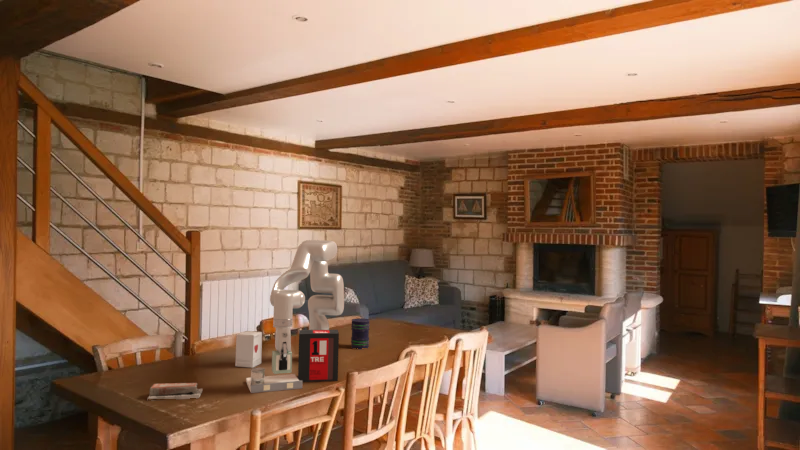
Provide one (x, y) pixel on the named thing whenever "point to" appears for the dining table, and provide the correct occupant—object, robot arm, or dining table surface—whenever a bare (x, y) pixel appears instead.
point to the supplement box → (248, 349)
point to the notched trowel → (174, 391)
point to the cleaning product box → (318, 355)
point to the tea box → (276, 362)
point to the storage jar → (360, 333)
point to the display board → (276, 383)
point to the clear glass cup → (257, 376)
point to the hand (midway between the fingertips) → (281, 367)
